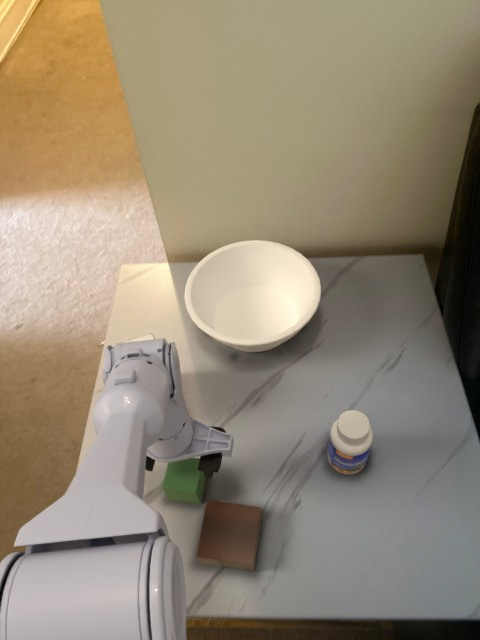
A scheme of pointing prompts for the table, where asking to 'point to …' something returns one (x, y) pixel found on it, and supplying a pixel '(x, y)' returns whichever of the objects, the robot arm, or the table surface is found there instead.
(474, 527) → the table surface
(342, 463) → the pill bottle
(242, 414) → the table surface
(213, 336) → the bowl
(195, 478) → the green cube
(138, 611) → the robot arm
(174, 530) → the table surface
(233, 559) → the walnut block
